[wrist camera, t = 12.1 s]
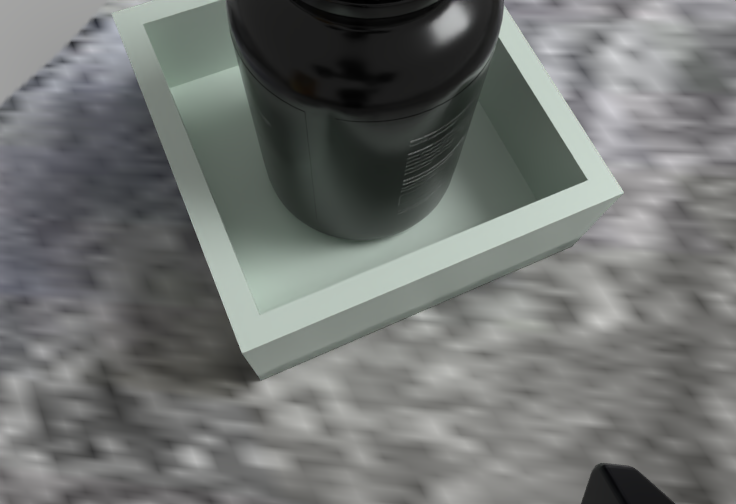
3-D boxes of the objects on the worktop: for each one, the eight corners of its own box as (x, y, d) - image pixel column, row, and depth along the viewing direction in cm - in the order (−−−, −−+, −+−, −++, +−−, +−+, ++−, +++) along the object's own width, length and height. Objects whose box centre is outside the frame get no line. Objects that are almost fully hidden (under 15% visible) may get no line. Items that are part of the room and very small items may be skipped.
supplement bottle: (425, 67, 25) (498, -286, 13) (473, 226, 22) (611, -38, 11) (249, 96, 24) (169, -254, 13) (281, 264, 22) (219, 21, 10)
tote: (572, 246, 23) (623, 192, 19) (261, 380, 21) (241, 353, 17) (427, 1, 27) (444, -89, 23) (149, 93, 25) (111, 13, 21)
